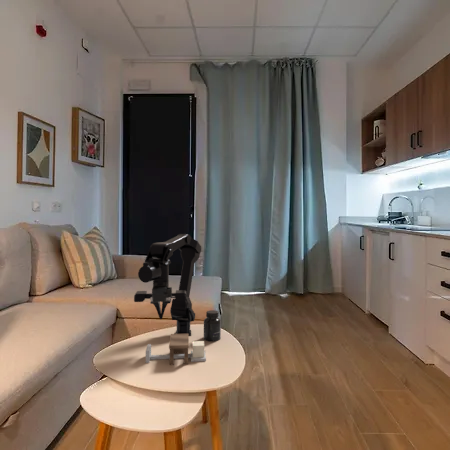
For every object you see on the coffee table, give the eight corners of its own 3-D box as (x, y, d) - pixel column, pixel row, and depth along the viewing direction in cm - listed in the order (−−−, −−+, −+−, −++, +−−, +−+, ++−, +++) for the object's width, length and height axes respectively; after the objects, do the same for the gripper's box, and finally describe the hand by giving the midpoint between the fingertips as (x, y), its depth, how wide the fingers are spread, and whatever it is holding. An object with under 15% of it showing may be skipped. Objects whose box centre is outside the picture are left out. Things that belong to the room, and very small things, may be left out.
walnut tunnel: (170, 352, 127) (170, 333, 126) (188, 351, 127) (188, 333, 127) (169, 365, 116) (169, 345, 116) (188, 365, 117) (188, 345, 116)
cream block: (192, 352, 124) (192, 341, 124) (203, 352, 125) (203, 341, 124) (192, 357, 120) (192, 345, 120) (204, 356, 121) (204, 345, 120)
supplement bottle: (218, 345, 136) (218, 315, 135) (201, 344, 137) (201, 313, 137) (222, 338, 143) (222, 309, 142) (206, 337, 144) (206, 308, 143)
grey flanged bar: (147, 354, 124) (147, 343, 124) (205, 352, 126) (205, 341, 126) (145, 363, 117) (145, 351, 117) (205, 361, 119) (205, 349, 119)
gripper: (131, 282, 121) (131, 326, 121) (186, 281, 123) (186, 325, 123) (136, 275, 132) (136, 316, 133) (186, 275, 134) (186, 315, 134)
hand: (161, 318), depth 130 cm, fingers closed
